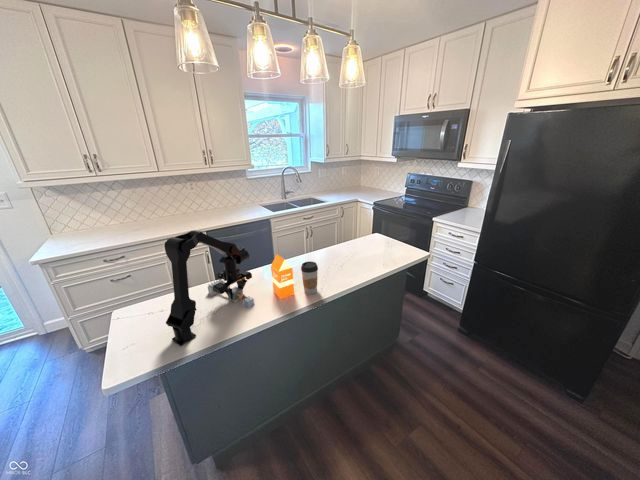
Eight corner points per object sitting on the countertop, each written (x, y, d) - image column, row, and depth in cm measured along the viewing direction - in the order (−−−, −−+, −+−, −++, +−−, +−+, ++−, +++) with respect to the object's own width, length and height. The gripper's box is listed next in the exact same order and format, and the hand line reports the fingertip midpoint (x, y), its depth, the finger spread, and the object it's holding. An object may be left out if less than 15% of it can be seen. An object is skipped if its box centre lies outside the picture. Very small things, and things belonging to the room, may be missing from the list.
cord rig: (257, 301, 123) (256, 292, 122) (244, 310, 117) (243, 301, 116) (222, 286, 138) (220, 278, 137) (208, 293, 132) (207, 284, 130)
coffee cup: (304, 297, 126) (302, 269, 121) (300, 288, 134) (299, 262, 129) (320, 294, 128) (319, 266, 123) (316, 285, 136) (315, 260, 131)
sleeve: (243, 296, 127) (242, 289, 125) (235, 301, 123) (233, 294, 121) (236, 293, 129) (235, 286, 128) (228, 298, 125) (227, 291, 124)
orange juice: (280, 299, 125) (276, 261, 118) (273, 291, 132) (269, 255, 125) (294, 293, 129) (292, 257, 122) (286, 286, 136) (283, 251, 129)
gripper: (235, 257, 132) (240, 284, 137) (202, 271, 117) (208, 301, 123) (250, 262, 126) (254, 289, 131) (217, 278, 112) (223, 308, 117)
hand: (235, 296), depth 126 cm, fingers closed on sleeve, 5 cm apart
